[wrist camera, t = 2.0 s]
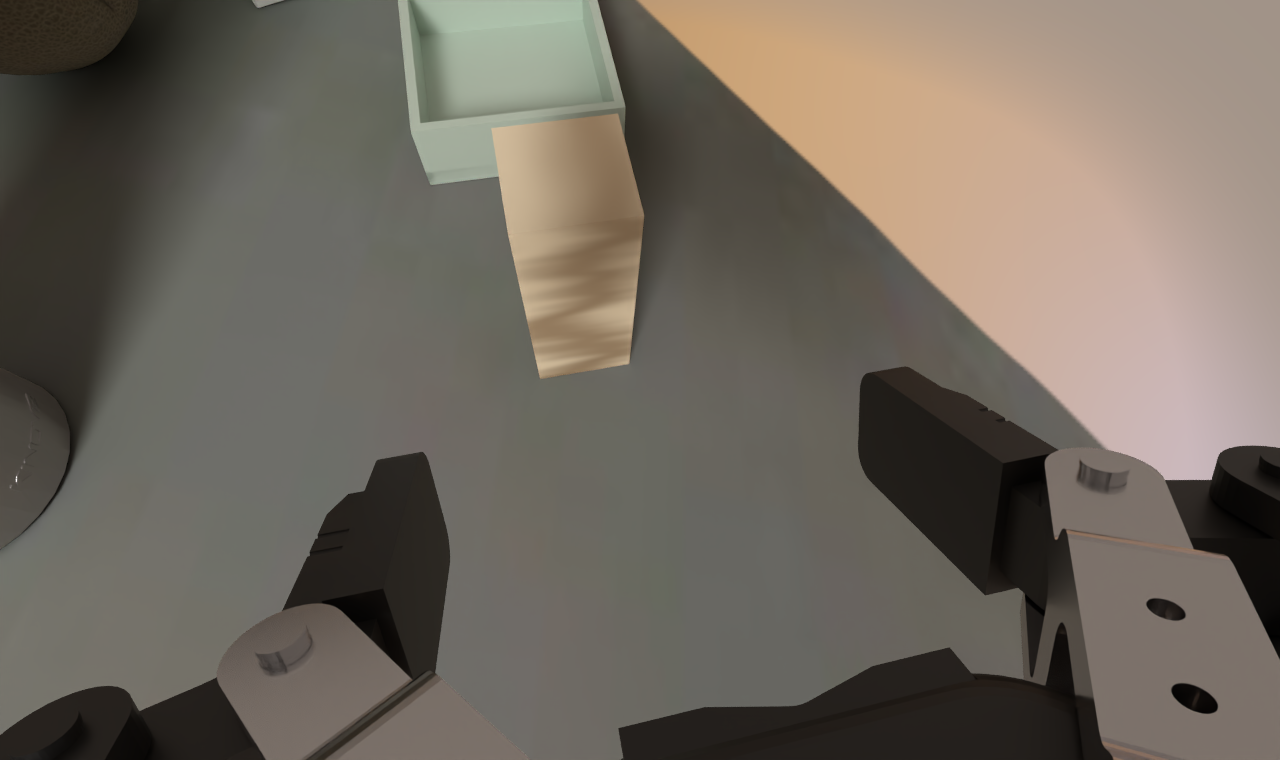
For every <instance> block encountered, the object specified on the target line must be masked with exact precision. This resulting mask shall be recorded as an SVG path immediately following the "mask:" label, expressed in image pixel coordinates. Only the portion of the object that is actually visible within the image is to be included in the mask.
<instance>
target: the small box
mask: <svg viewBox="0 0 1280 760" xmlns="http://www.w3.org/2000/svg"><path fill="white" fill-rule="evenodd" d="M252 1H253V3H254V5H255V6H256V7H257V8H260V7H264V6H267V5H270V4H273V3H277V2H280V1H284V0H252Z"/></svg>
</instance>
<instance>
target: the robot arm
mask: <svg viewBox="0 0 1280 760" xmlns="http://www.w3.org/2000/svg"><path fill="white" fill-rule="evenodd" d="M858 452H859V459H860V462H861V466H862V468H863V471H864V473H865V474H866V476H867V478H868V479H869V480H870V481H871V482H872V483H873V484H874V485H875V486H876V487H877V488H878V489H879V490H880V491H881V492H882V493H883V494H884V495H885V496H886V497H887V498H888V499H889V500H890V501H891V502H892V503H893V504H894V505H895V506H896V507H897V508H898V509H899V510H900V511H901V512H902V513H903V514H904V515H905V516H906V517H907V518H908V519H909V520H910V521H911V522H912V523H913V524H914V525H915V526H916V527H917V528H918V529H919V530H920V531H921V532H922V533H923V534H924V535H925V536H926V537H927V538H928V539H929V540H930V541H931V542H932V543H933V544H934V545H935V546H936V547H937V548H938V549H939V550H940V551H941V552H942V553H943V554H944V555H945V556H946V557H947V558H948V559H949V560H950V561H951V562H952V563H953V564H954V565H955V566H956V567H957V568H958V569H959V570H960V571H961V572H962V573H963V574H964V575H965V576H966V577H967V578H968V579H969V580H970V581H971V582H972V583H973V584H974V585H975V586H976V587H977V588H978V589H979V590H980V591H981V592H982V593H983V594H984V595H989V594H993V593H997V592H1002V591H1006V590H1010V589H1014V588H1019V589H1020V590H1021V591H1023V597H1022V603H1021V610H1020V617H1021V637H1022V656H1023V675H1024V680H1022V679H1017V678H1011V677H1006V676H1000V675H989V674H971V673H970V671H969V670H968V669H967V668H966V667H965V665H964V664H963V663H962V662H961V661H960V659H959V658H958V657H957V656H956V655H955V653H954V652H953V651H952V650H951V649H950V647H949V648H945V649H941V650H937V651H933V652H929V653H925V654H921V655H917V656H913V657H908V658H904V659H900V660H896V661H892V662H888V663H884V664H880V665H876V666H872V667H870V668H868V669H867V670H865V671H863V672H861V673H859V674H858V675H856V676H854V677H852V678H850V679H848V680H847V681H845V682H843V683H841V684H839V685H838V686H836V687H834V688H832V689H830V690H828V691H827V692H825V693H823V694H821V695H819V696H818V697H816V698H814V699H812V700H810V701H809V702H806V703H804V704H802V705H797V706H781V707H704V708H700V709H696V710H691V711H687V712H683V713H679V714H675V715H671V716H667V717H663V718H659V719H655V720H651V721H646V722H642V723H638V724H634V725H630V726H626V727H622V728H618V729H619V735H620V741H621V747H622V753H623V759H621V760H1280V448H1276V447H1267V446H1239V447H1233V448H1229V449H1227V450H1224V451H1223V452H1221V453H1220V454H1219V457H1218V459H1217V463H1216V467H1215V470H1214V473H1213V477H1212V480H1164V478H1163V476H1162V475H1161V474H1160V473H1159V472H1158V471H1157V470H1156V469H1154V468H1153V467H1152V466H1150V465H1148V464H1146V463H1145V462H1143V461H1141V460H1138V459H1136V458H1133V457H1131V456H1128V455H1125V454H1121V453H1118V452H1114V451H1109V450H1103V449H1097V448H1068V449H1062V450H1058V449H1056V448H1054V447H1052V446H1051V445H1049V444H1047V443H1046V442H1044V441H1042V440H1041V439H1039V438H1037V437H1036V436H1034V435H1032V434H1031V433H1029V432H1027V431H1026V430H1024V429H1022V428H1021V427H1019V426H1017V425H1016V424H1014V423H1012V422H1011V421H1005V418H1004V417H1002V416H1001V415H999V414H997V413H996V412H994V411H992V410H990V411H988V408H987V407H986V406H984V405H982V404H981V403H979V402H977V401H976V400H974V399H972V398H971V397H969V396H967V395H965V394H961V393H958V392H955V391H952V390H949V389H946V388H942V387H940V386H939V385H937V384H936V383H934V382H932V381H931V380H929V379H927V378H926V377H924V376H922V375H921V374H919V373H918V372H916V371H914V370H913V369H911V368H909V367H899V368H893V369H888V370H882V371H877V372H871V373H867V374H865V375H864V377H863V378H862V381H861V385H860V407H859V437H858ZM69 453H70V430H69V426H68V422H67V419H66V415H65V413H64V411H63V410H62V408H61V407H60V405H59V403H58V402H57V400H56V399H55V398H54V397H53V396H52V395H51V394H49V393H48V392H47V391H46V390H45V389H44V388H42V387H40V386H38V385H36V384H34V383H32V382H30V381H28V380H26V379H24V378H22V377H20V376H17V375H15V374H13V373H11V372H9V371H7V370H5V369H3V368H1V367H0V549H2V548H3V547H4V546H6V545H7V544H8V543H10V542H11V541H12V540H14V539H15V538H16V537H18V536H19V535H20V534H21V533H22V532H23V531H24V530H25V529H26V528H27V527H28V526H29V525H30V524H31V523H32V522H33V521H34V520H35V519H36V518H37V517H38V516H39V515H40V514H41V512H42V511H43V509H44V508H45V507H46V505H47V504H48V502H49V501H50V500H51V498H52V497H53V495H54V494H55V492H56V490H57V488H58V485H59V483H60V481H61V479H62V477H63V475H64V473H65V469H66V465H67V461H68V457H69ZM449 566H450V548H449V539H448V533H447V529H446V525H445V521H444V517H443V513H442V510H441V506H440V502H439V499H438V495H437V491H436V488H435V484H434V480H433V476H432V473H431V469H430V466H429V462H428V460H427V457H426V455H425V454H424V453H423V452H419V453H413V454H408V455H402V456H396V457H391V458H385V459H380V460H377V461H376V463H375V466H374V468H373V471H372V473H371V476H370V478H369V481H368V484H367V486H366V489H365V491H362V492H357V493H352V494H348V495H347V496H346V497H345V498H344V499H343V500H342V501H341V502H340V503H338V504H337V505H336V506H335V507H334V508H333V509H332V510H331V511H330V512H329V513H328V514H327V516H326V518H325V520H324V522H323V524H322V526H321V528H320V531H319V533H318V539H315V541H314V544H313V546H312V548H311V550H310V556H308V557H307V559H306V561H305V563H304V565H303V567H302V569H301V571H300V574H299V576H298V578H297V580H296V582H295V584H294V587H293V589H292V591H291V593H290V595H289V597H288V599H287V602H286V604H285V606H284V608H283V610H282V611H281V612H279V613H276V614H274V615H272V616H270V617H268V618H266V619H264V620H262V621H261V622H259V623H258V624H256V625H254V626H253V627H252V628H250V629H249V630H248V631H246V632H245V633H244V634H242V635H241V636H240V637H239V638H238V639H237V640H236V641H235V642H234V643H233V644H232V645H231V646H230V647H229V649H228V650H227V651H226V653H225V654H224V656H223V657H222V659H221V661H220V663H219V666H218V670H217V677H216V678H215V679H213V680H211V681H208V682H206V683H204V684H202V685H200V686H198V687H195V688H193V689H190V690H188V691H186V692H183V693H181V694H179V695H176V696H174V697H172V698H169V699H167V700H165V701H162V702H160V703H158V704H155V705H153V706H151V707H148V708H146V709H144V710H141V711H139V710H138V708H137V706H136V705H135V703H134V701H133V700H132V698H131V696H130V694H129V693H128V692H127V691H126V690H124V689H122V688H119V687H114V686H101V687H94V688H89V689H85V690H82V691H78V692H75V693H72V694H70V695H67V696H65V697H62V698H60V699H58V700H55V701H53V702H51V703H49V704H47V705H45V706H43V707H42V708H40V709H38V710H36V711H34V712H33V713H31V714H29V715H28V716H26V717H25V718H23V719H22V720H20V721H19V722H17V723H16V724H14V725H13V726H12V727H10V728H9V729H7V730H6V731H5V732H4V733H3V734H1V735H0V760H531V759H530V758H529V757H527V756H526V755H525V754H524V753H523V752H522V751H521V750H520V749H519V748H518V747H516V746H515V745H514V744H513V743H512V742H511V741H510V740H509V739H508V738H507V737H506V736H504V735H503V734H502V733H501V732H500V731H499V730H498V729H497V728H496V727H495V726H493V725H492V724H491V723H490V722H489V721H488V720H487V719H486V718H485V717H484V716H483V715H481V714H480V713H479V712H478V711H477V710H476V709H475V708H474V707H473V706H472V705H470V704H469V703H468V702H467V701H466V700H465V699H464V698H463V697H462V696H461V695H460V694H458V693H457V692H456V691H455V690H454V689H453V688H452V687H451V686H450V685H449V684H447V683H446V682H445V681H444V680H443V679H442V678H441V677H440V676H438V675H437V674H435V669H436V662H437V654H438V647H439V640H440V632H441V625H442V617H443V610H444V603H445V595H446V588H447V580H448V573H449Z"/></svg>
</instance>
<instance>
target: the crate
mask: <svg viewBox="0 0 1280 760" xmlns="http://www.w3.org/2000/svg"><path fill="white" fill-rule="evenodd" d="M398 5H399V16H400V26H401V36H402V46H403V56H404V67H405V77H406V87H407V97H408V107H409V117H410V128H411V133H412V136H413V139H414V142H415V144H416V147H417V150H418V153H419V155H420V158H421V161H422V164H423V166H424V169H425V172H426V174H427V177H428V180H429V183H430V185H435V184H443V183H451V182H459V181H467V180H475V179H483V178H490V177H498V176H499V174H498V167H497V161H496V155H495V149H494V142H493V136H492V130H491V128H497V127H506V126H515V125H523V124H532V123H540V122H549V121H558V120H566V119H575V118H583V117H592V116H601V115H609V114H618V115H619V119H620V123H621V127H622V131H623V135H624V131H625V110H626V107H625V103H624V99H623V95H622V92H621V88H620V84H619V80H618V77H617V73H616V69H615V65H614V61H613V58H612V54H611V50H610V46H609V43H608V39H607V35H606V31H605V27H604V24H603V20H602V16H601V12H600V9H599V5H598V1H597V0H398Z"/></svg>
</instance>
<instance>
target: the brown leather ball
mask: <svg viewBox="0 0 1280 760" xmlns="http://www.w3.org/2000/svg"><path fill="white" fill-rule="evenodd" d="M137 8H138V0H0V73H1V74H12V75H43V74H50V73H57V72H62V71H69V70H74V69H79V68H82V67H85V66H88V65H91V64H93V63H95V62H97V61H99V60H101V59H102V58H104V57H105V56H106V55H108V54H109V53H110V52H111V51H112V50H113V49H114V48H115V47H116V46H117V45H118V43H119V42H120V40H121V39H122V38H123V36H124V35H125V33H126V32H127V30H128V28H129V27H130V25H131V24H132V22H133V20H134V18H135V16H136V13H137Z"/></svg>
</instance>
